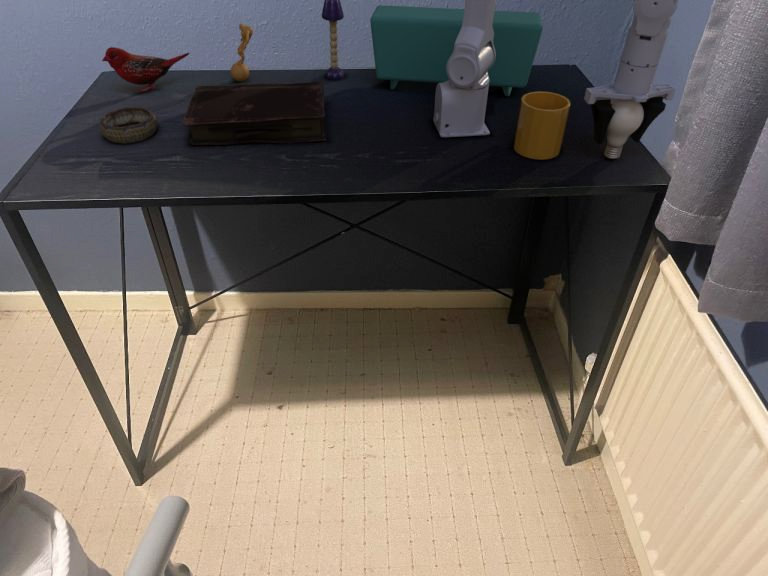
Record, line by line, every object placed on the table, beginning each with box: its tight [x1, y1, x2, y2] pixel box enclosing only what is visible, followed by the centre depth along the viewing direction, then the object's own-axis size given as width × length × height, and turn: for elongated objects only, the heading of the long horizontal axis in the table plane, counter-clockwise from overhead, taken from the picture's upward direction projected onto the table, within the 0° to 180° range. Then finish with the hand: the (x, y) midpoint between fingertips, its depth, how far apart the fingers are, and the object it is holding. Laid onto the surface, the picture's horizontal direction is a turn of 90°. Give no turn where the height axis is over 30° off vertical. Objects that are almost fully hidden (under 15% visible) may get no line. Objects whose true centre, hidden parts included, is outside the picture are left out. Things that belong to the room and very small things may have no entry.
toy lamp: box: [321, 0, 345, 81], centre depth 125 cm, size 5×5×17 cm
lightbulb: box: [603, 100, 644, 160], centre depth 98 cm, size 6×6×11 cm
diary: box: [182, 81, 327, 146], centre depth 110 cm, size 19×25×5 cm
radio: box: [369, 4, 544, 97], centre depth 121 cm, size 34×10×15 cm, turn 82°
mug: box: [513, 90, 572, 161], centre depth 102 cm, size 11×8×9 cm
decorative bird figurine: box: [101, 46, 191, 94], centre depth 121 cm, size 3×18×10 cm, turn 123°
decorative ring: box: [99, 106, 159, 145], centre depth 107 cm, size 10×3×10 cm
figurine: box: [230, 23, 254, 83], centre depth 124 cm, size 8×6×12 cm
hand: (616, 140), depth 100 cm, fingers closed on lightbulb, 6 cm apart
